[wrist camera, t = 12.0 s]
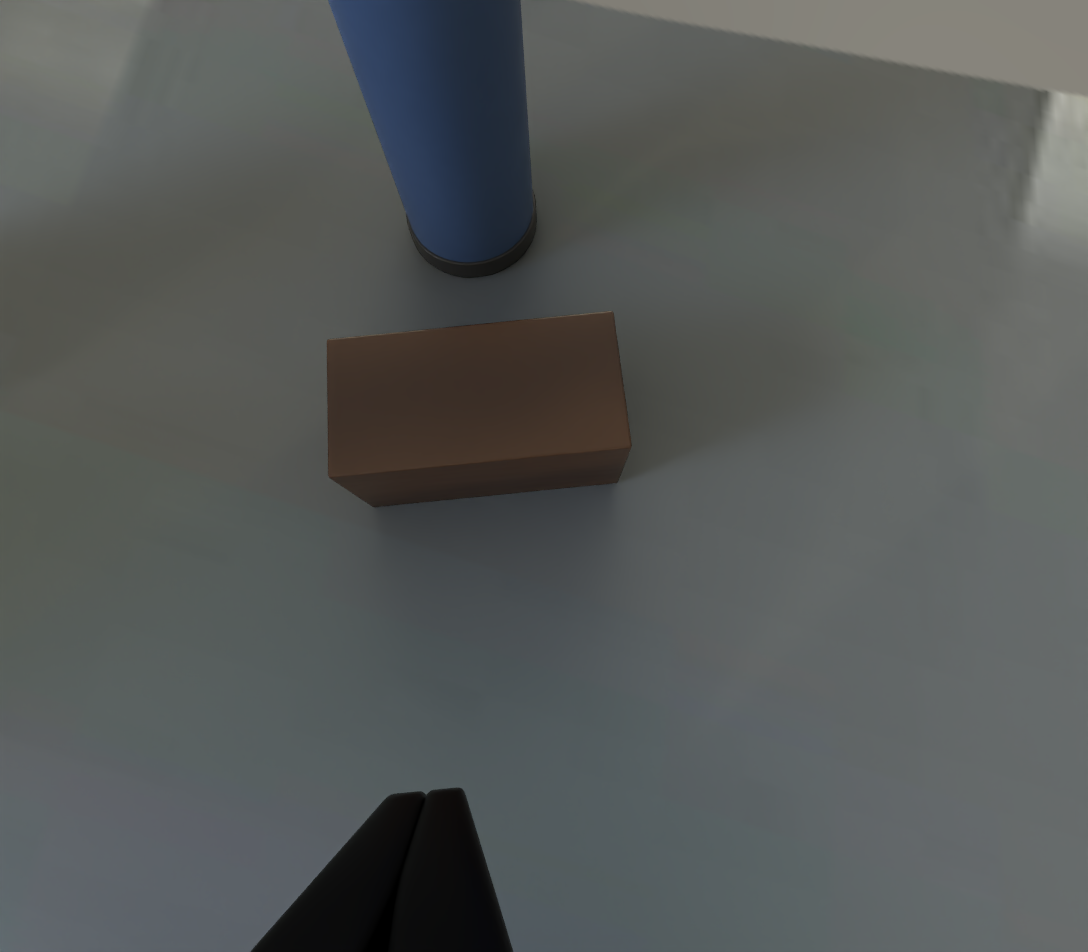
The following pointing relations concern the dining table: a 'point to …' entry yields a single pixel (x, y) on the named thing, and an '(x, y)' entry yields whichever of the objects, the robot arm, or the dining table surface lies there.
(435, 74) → the tube
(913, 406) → the dining table surface
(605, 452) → the walnut block
